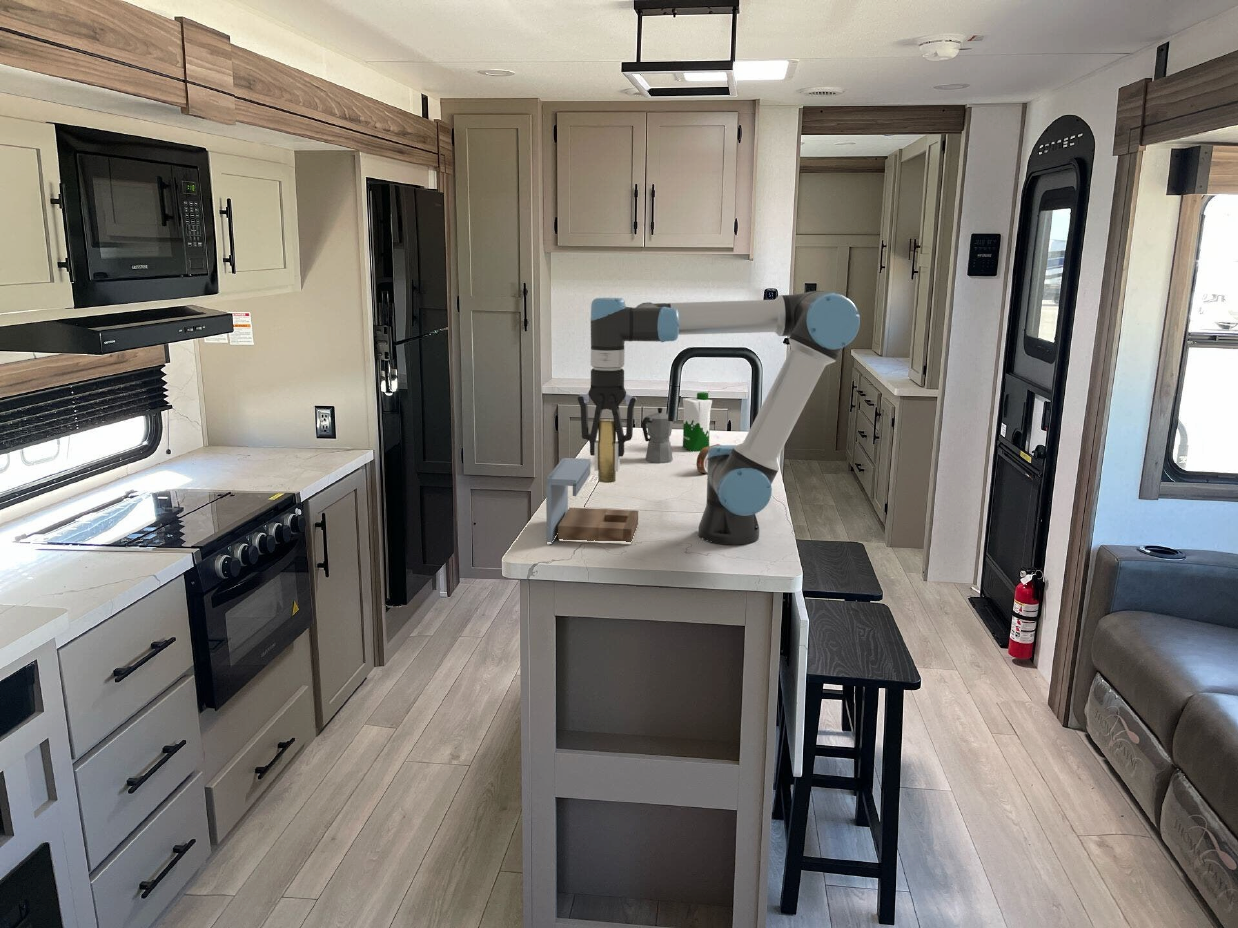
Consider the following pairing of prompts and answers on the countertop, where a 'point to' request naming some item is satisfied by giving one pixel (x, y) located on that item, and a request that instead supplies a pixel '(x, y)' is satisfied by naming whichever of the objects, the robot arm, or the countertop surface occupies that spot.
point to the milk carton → (696, 422)
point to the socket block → (598, 524)
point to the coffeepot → (658, 437)
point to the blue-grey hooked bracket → (563, 490)
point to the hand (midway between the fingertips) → (607, 469)
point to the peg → (606, 451)
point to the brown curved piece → (703, 460)
